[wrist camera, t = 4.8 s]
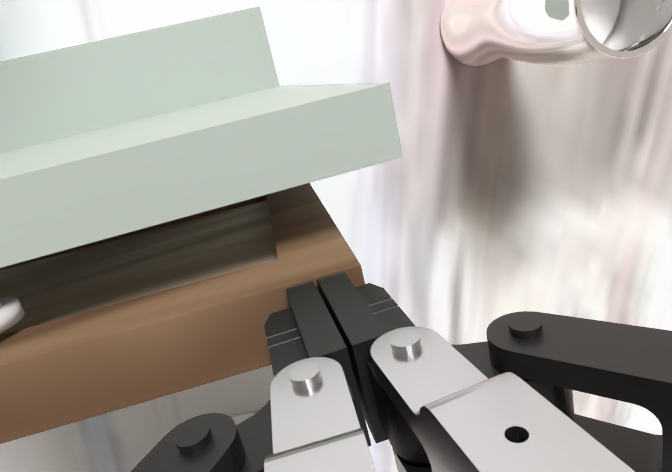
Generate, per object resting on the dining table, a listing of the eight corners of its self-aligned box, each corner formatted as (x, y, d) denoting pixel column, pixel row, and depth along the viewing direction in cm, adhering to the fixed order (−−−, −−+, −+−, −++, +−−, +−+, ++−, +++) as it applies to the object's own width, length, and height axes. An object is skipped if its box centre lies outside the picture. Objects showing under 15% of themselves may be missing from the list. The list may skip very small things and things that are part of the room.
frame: (-105, 274, 24) (-542, 516, 11) (301, 169, 26) (360, 265, 12) (-85, 310, 24) (-471, 581, 11) (310, 206, 26) (375, 334, 13)
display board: (-132, 94, 30) (-1136, 112, 8) (256, 11, 34) (349, -141, 11) (-39, 272, 34) (-520, 631, 12) (299, 180, 38) (430, 314, 15)
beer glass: (427, 67, 38) (557, 54, 24) (441, -35, 36) (589, -114, 22) (508, 76, 39) (673, 69, 25) (525, -21, 38) (712, -85, 24)
